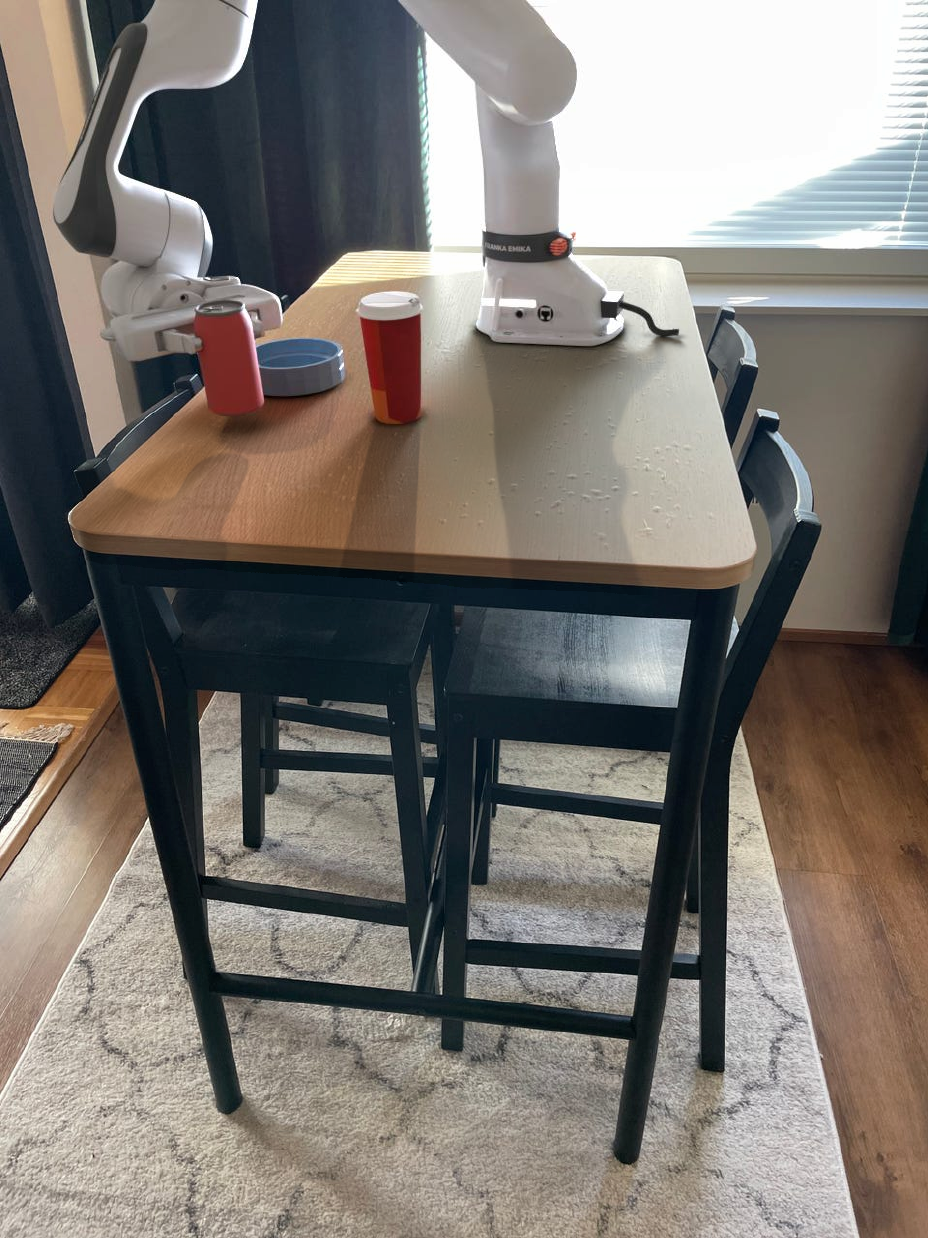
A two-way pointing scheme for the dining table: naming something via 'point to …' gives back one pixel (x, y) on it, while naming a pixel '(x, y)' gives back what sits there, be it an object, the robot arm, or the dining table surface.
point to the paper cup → (393, 354)
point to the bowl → (299, 366)
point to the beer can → (228, 358)
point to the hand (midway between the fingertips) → (228, 338)
